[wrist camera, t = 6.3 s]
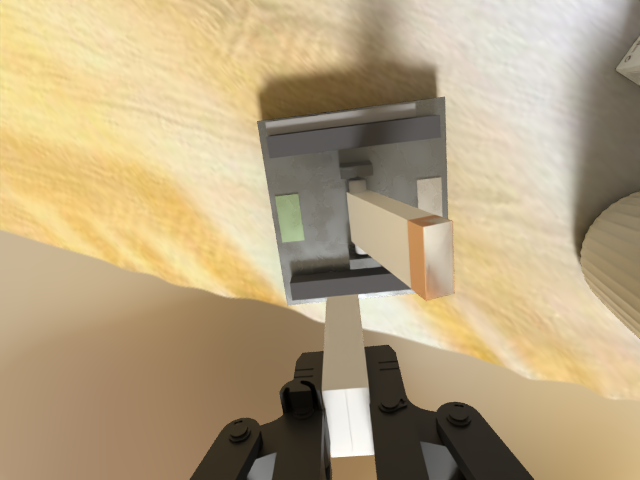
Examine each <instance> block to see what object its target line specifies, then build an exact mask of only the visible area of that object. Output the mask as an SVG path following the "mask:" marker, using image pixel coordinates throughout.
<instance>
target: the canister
mask: <svg viewBox="0 0 640 480" xmlns="http://www.w3.org/2000/svg"><path fill="white" fill-rule="evenodd" d="M580 253H581V259H580V262H581V265H582V272H583V274H584V278H585V280H586V282H587V283H588V285H589V287H590V289H591V290H592V292H593V293H594V294H595V295H596V296H597V297H598V298H599V299H600V300H601V301H602V303H603V304H604V305H605V306H606V307H607V308H608V309H609V310H610V311H611V312H612V313H613V314H614V315H615V316H616V317H617V318H618V319H619V320H620V321H621V322H622V323H623V324H624V325H625V326H626V327H627V328H629V329H630V330H631V331H632V332H633V333H634V334H635V335H636V336H637V337H638V338H639V339H640V192H635V193H632V194H630V195H628V196H627V197H623V198H621V199H619V200H618V201H617V202H615V203H613V204H611V205H610V207H608V208H607V209H606V210H604V211H602V213H601V214H600V215H599V216H598V217H597V218H596V219H595V221H594V223H593V224H592V225H591V226H590V228H589V230H588V232H587V233H586V234H585V239H584V241H583V242H582V250H581V252H580Z"/></svg>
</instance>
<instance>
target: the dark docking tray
mask: <svg viewBox="0 0 640 480" xmlns="http://www.w3.org/2000/svg"><path fill="white" fill-rule="evenodd" d="M408 117H414V118H408ZM400 118H406V119H400ZM392 119H398V120H392ZM384 120H390V121H384ZM377 121H382V122H377ZM369 122H374V123H369ZM265 123H266V129H267V135H272V136H268V137H266V139H267V145H268V151H269V158H278V157H286V156H295V155H303V154H311V153H319V152H327V151H335V150H343V149H352V148H360V147H368V146H376V145H384V144H392V143H400V142H408V141H417V140H425V139H433V138H441V130H440V115H429V116H422V117H416V108H415V103H410V104H403V105H395V106H387V107H380V108H372V109H364V110H357V111H349V112H341V113H333V114H326V115H318V116H310V117H303V118H295V119H287V120H280V121H272V122H265ZM361 123H367V124H361ZM353 124H359V125H353ZM345 125H351V126H345ZM337 126H343V127H337ZM330 127H335V128H330ZM322 128H327V129H322ZM314 129H320V130H314ZM306 130H312V131H306ZM298 131H304V132H298ZM290 132H296V133H290ZM283 133H288V134H283ZM275 134H280V135H275ZM290 289H291V295H292V301H294V300H304V299H315V298H325V297H333V296H343V295H354V294H368V293H378V292H389V291H399V290H410V289H411V288H410V287H409V286H407V285H406V284H405V283H404V282H402V281H401V280H400V279H399V278H397V277H396V276H395V275H393V274H392V273H391V272H390V271H388V270H387V269H386V268H385V267H377V268H367V269H357V270H347V271H337V272H327V273H317V274H307V275H297V276H292V277H291V281H290Z"/></svg>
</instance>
